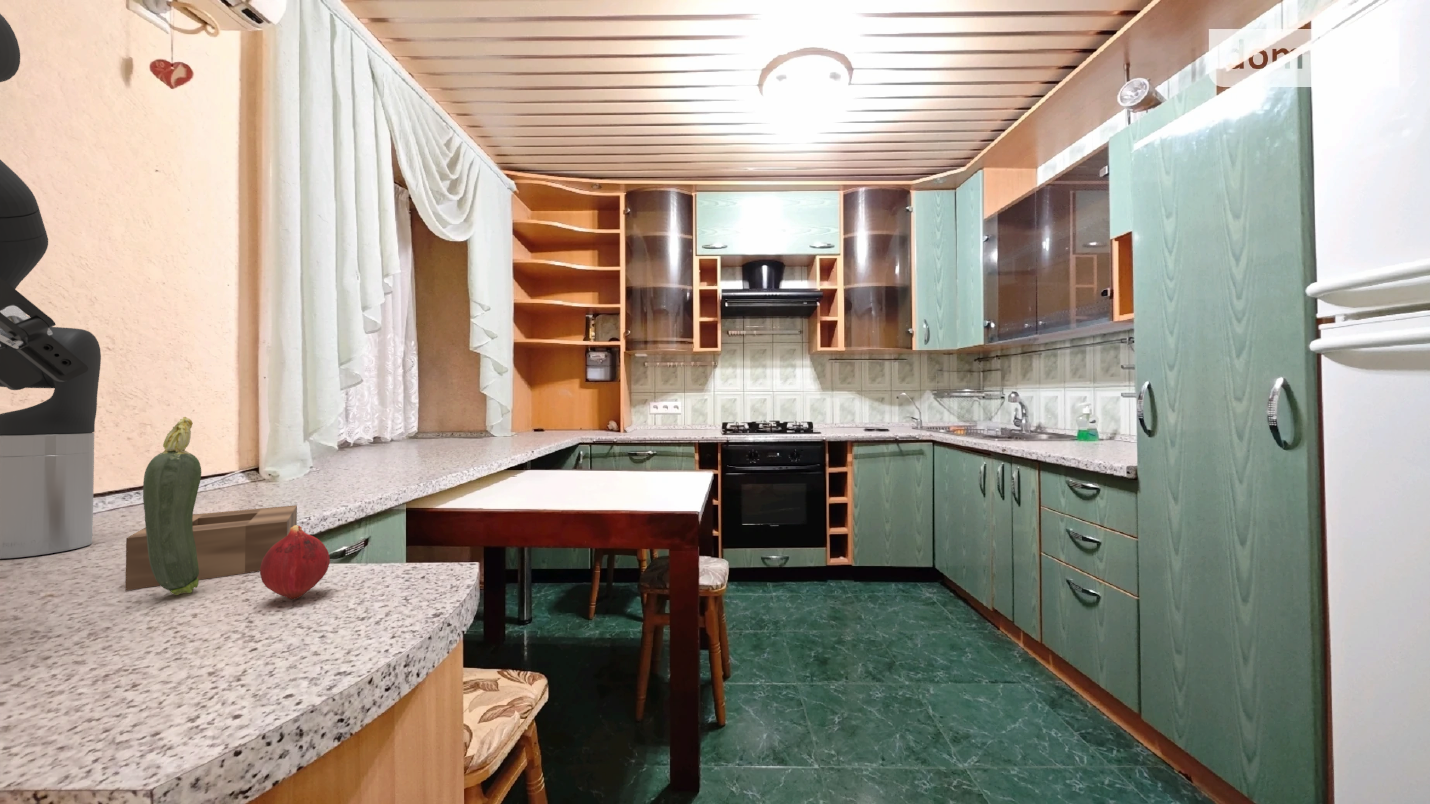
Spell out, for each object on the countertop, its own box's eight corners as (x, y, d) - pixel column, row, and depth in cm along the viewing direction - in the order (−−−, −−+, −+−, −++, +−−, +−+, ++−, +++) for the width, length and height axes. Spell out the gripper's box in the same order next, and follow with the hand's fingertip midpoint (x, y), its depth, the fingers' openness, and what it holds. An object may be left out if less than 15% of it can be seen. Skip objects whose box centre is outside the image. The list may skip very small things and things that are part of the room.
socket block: (163, 560, 68) (164, 516, 68) (296, 543, 76) (296, 505, 76) (125, 590, 56) (126, 538, 56) (286, 567, 65) (287, 521, 65)
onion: (340, 594, 55) (341, 522, 55) (277, 613, 50) (278, 534, 50) (311, 586, 58) (312, 518, 58) (248, 603, 52) (249, 528, 52)
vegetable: (159, 605, 52) (162, 417, 52) (129, 602, 53) (132, 417, 53) (210, 590, 56) (212, 416, 57) (181, 587, 57) (184, 416, 57)
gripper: (-56, 178, 38) (137, 351, 48) (-130, 214, 43) (60, 366, 52) (-213, 209, 33) (41, 399, 42) (-279, 247, 37) (-36, 411, 46)
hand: (51, 381), depth 47 cm, fingers open, 8 cm apart
